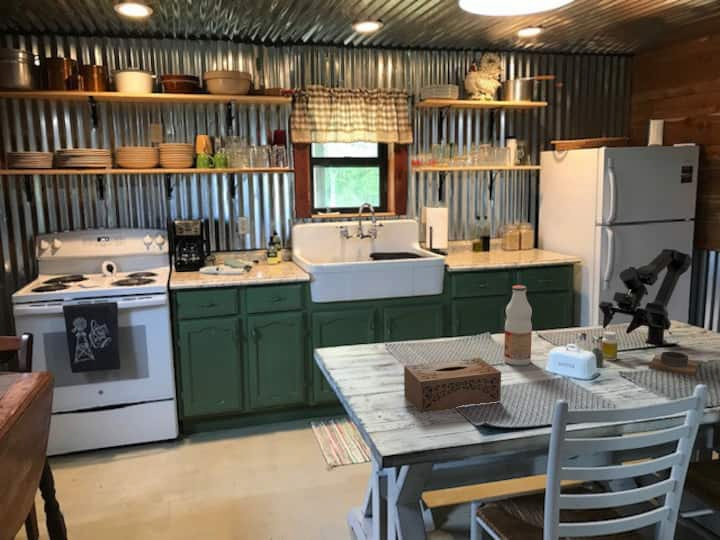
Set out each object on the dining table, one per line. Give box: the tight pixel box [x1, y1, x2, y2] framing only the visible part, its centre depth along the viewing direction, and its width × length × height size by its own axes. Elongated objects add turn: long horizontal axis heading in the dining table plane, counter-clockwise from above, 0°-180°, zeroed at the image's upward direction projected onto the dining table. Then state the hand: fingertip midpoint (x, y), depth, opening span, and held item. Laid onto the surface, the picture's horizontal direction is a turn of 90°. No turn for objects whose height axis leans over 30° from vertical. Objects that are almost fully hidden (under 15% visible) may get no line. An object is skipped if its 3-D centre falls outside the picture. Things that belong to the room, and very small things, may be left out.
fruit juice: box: [503, 285, 533, 366], centre depth 215 cm, size 9×9×28 cm
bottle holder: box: [648, 350, 700, 376], centre depth 210 cm, size 14×14×4 cm
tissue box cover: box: [403, 357, 502, 414], centre depth 184 cm, size 26×14×10 cm, turn 105°
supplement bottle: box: [601, 331, 619, 361], centre depth 218 cm, size 5×5×10 cm
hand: (614, 330), depth 219 cm, fingers open, 9 cm apart
